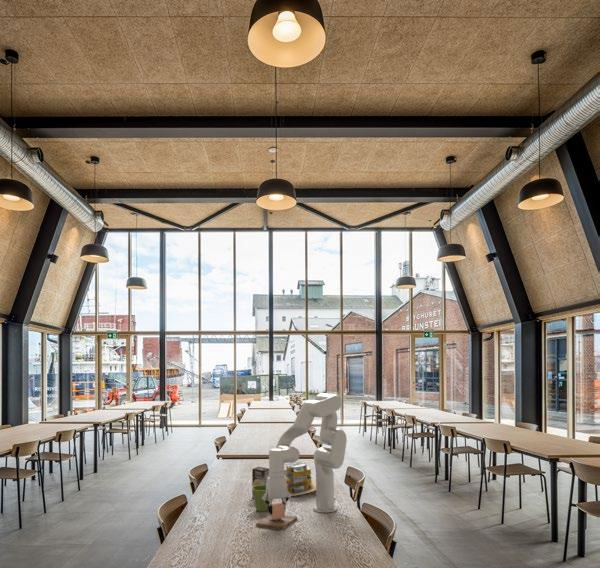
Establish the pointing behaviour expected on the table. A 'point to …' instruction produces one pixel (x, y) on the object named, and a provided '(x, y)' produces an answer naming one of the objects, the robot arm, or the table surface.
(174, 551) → the table surface
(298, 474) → the plate with layered stack
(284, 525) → the post board
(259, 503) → the plant pot
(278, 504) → the salmon orange cube
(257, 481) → the coffee box
